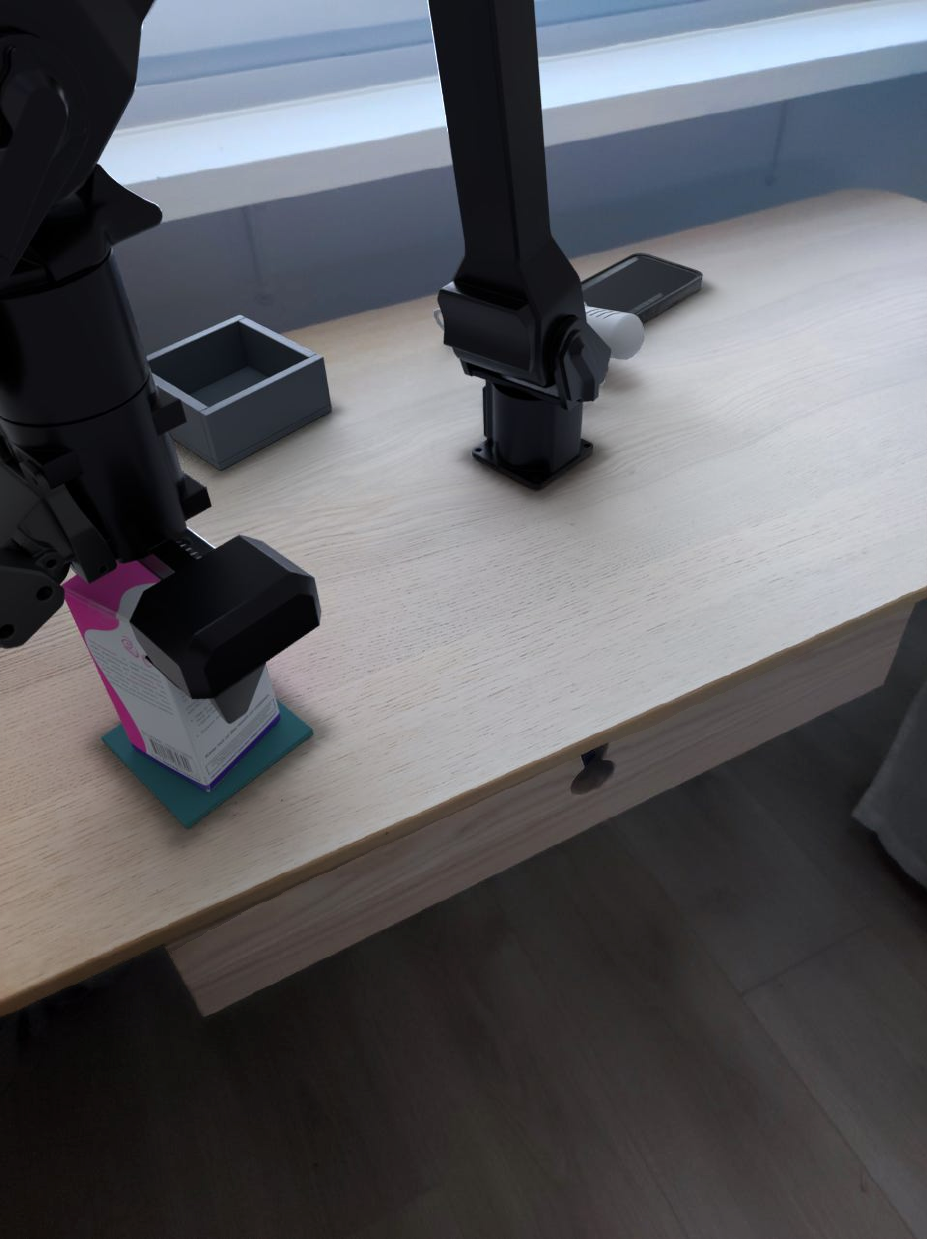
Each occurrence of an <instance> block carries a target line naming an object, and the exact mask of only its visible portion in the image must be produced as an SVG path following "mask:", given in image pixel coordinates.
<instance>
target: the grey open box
mask: <svg viewBox="0 0 927 1239" xmlns="http://www.w3.org/2000/svg"><path fill="white" fill-rule="evenodd" d="M146 357H147V360H148V363H149V367H150V370H151V373H152V376H153V379H154V383H155V384H157V385H159V386H160V387H162V388H163V389H165V390H167V391H168V392H170V393H172V394H173V395H175V396H176V397H178V398H180V399H181V402H182V406H183V409H184V412H185V416H186V419H187V422H186V423H184V424H182V425H180V426H178V427H176V428H174V429H172V430H170V434H171V437H172V440H173V441H176V442H177V443H179V444H180V445H182V446H183V447H185V448H186V449H187V450H188V451H191V452H192V453H194V454H195V455H197V456H198V457H200V458H201V459H202V460H204V461H206V462H207V463H209V464H210V465H211V466H213V467H215V468H216V469H217V470H219V471H223V470H225V469H226V468H229V467H230V466H232V465H234V464H236V463H237V462H240V461H241V460H243V459H245V458H247V457H249V456H251V455H253V454H254V453H256V452H258V451H260V450H261V449H263V448H265V447H267V446H269V445H271V444H273V443H275V442H277V441H278V440H279V439H282V438H284V437H286V436H287V435H289V434H291V433H293V432H295V431H296V430H298V429H300V428H302V427H305V426H306V425H308V424H310V423H311V422H313V421H315V420H316V419H319V418H321V417H322V416H324V415H327V414H329V413H330V412H332V411H333V407H332V400H331V394H330V388H329V382H328V375H327V370H326V363H325V358H324V356H323V355H320V354H318V353H316V352H314V351H312V350H310V349H308V348H306V347H304V346H303V345H301V344H299V343H297V342H295V341H293V340H290V339H289V338H287V337H286V336H285V337H284V336H283V335H281V334H280V333H277V332H275V331H273V330H271V329H269V328H267V327H265V326H263V325H261V324H259V323H257V322H255V321H254V320H252V319H249V318H248V317H245V316H243V315H241V314H238V315H236V316H233V317H231V318H229V319H227V320H225V321H222V322H219V323H218V324H216V325H213V326H211V327H209V328H206V329H204V330H202V331H200V332H197V333H195V334H193V335H190V336H189V337H186V338H184V339H182V340H180V341H177V342H175V343H172V344H170V345H168V346H165V347H164V348H162V349H159V350H157V351H155V352H153V353H150V354H148V355H146Z"/></svg>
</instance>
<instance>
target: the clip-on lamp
mask: <svg viewBox="0 0 927 1239" xmlns="http://www.w3.org/2000/svg"><path fill="white" fill-rule="evenodd" d="M584 304H585V310H586V318H587V323H588V324H589V325H590V326H591V327H592V328H593V329H594V331H595V332H596V333H597V334H598V335H599V336H600V337H601V338H602V339H603V341H604V342H605V343H606V344H607V345H608V346H609V347H610V348H611V356H610V359H615V360H621V361H622V360H624V361H625V360H629V359H631V358H633V357H635V356H636V355H637V354H638V353H639V351H640V350H642V347H643V344H644V343H645V342H644V341H645V334H646V332H645V331H646V330H645V327H644V323H642V322H641V320H640V319H639V318H638V317H637V316H636V315H634V314H630V313H624V312H618V311H612V310H606V309H600V308H594V307H588V306H587V305H586V303H585V302H584ZM440 314H442V313H441V310H440V307H438V308H436V309H434V311H433V317H434V319H435V321H436V323H437V325H438V326H439V327H440V329H441V330H442V331H443V332H444V323H443V321H441V319H440V317H439V315H440ZM605 383H606V379H605V380H604V381H603V382H602V383H601V384H600V385H599V387H603V386H604V385H605Z"/></svg>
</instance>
